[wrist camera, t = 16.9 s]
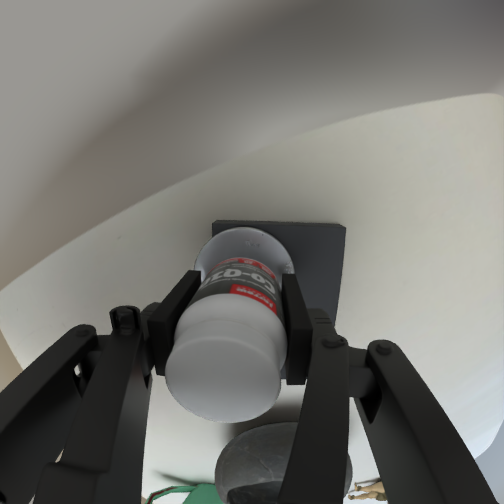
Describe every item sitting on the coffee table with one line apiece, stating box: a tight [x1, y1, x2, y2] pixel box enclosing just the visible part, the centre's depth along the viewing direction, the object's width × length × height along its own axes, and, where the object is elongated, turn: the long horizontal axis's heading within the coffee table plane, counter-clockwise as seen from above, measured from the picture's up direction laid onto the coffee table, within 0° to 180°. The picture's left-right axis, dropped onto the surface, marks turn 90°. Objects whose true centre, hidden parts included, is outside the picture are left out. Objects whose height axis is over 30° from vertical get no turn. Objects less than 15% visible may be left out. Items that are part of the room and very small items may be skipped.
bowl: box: [215, 422, 353, 504], centre depth 23 cm, size 15×15×10 cm
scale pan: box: [194, 227, 295, 289], centre depth 19 cm, size 7×7×1 cm
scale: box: [212, 220, 346, 379], centre depth 22 cm, size 14×10×4 cm
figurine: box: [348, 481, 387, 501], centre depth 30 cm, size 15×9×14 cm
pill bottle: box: [165, 257, 288, 423], centre depth 12 cm, size 5×5×8 cm
